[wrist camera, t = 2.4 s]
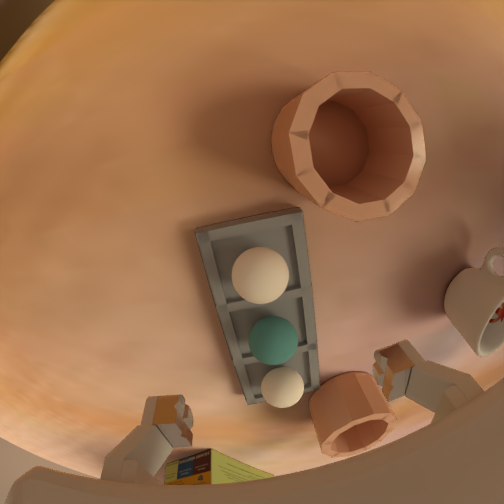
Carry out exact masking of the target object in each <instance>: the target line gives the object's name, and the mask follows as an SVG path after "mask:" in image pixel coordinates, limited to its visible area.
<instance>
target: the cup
mask: <svg viewBox="0 0 504 504" xmlns="http://www.w3.org/2000/svg"><path fill="white" fill-rule="evenodd" d="M497 256H503V257H504V249H503V248H493V249H491V250H490V251H489V252H488V254H487V255H486V257H485V260H484V262H483V265H482V267H481V268H480V269H477V268H467V269H465V270H463V271H461V272H460V273H459V274H458V275H457V276H456V277H455V278H454V279H453V280H452V282H451V283H450V285H449V287H448V289H447V291H446V294H445V299H444V309H445V312H446V314H447V316H448V318H449V319H450V321H451V322H452V323H453V325H454V326H455V327H456V328H457V330H458V331H459V332H460V333H461V335H462V336H463V337H464V339H465V340H466V341H467V343H468V344H469V345H470V347H471V348H472V349H473V351H474V352H475V353H476V354H477V355H478V356H480V357H486V356H489V355H491V354H492V353H494V352H495V351H496V350H498V349H499V348H500V347H501V346H502V345H503V344H504V276H499V275H498V274H496V273H495V271H494V269H493V261H494V259H495V258H496V257H497Z"/></svg>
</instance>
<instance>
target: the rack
mask: <svg viewBox="0 0 504 504" xmlns="http://www.w3.org/2000/svg"><path fill="white" fill-rule="evenodd" d="M195 235H196V239H197V242H198V246H199V250H200V253H201V257H202V261H203V264H204V268H205V271H206V275H207V279H208V282H209V285H210V289H211V292H212V296H213V299H214V303H215V306H216V309H217V313H218V316H219V319H220V322H221V326H222V329H223V332H224V335H225V338H226V342H227V345H228V348H229V351H230V354H231V357H232V360H233V363H234V366H235V369H236V372H237V375H238V378H239V381H240V384H241V387H242V390H243V393H244V396H245V399H246V402H247V404H248V405H250V404H256V403H261V402H267V401H266V400H265V399H264V397H263V395H262V392H261V384H262V381H263V379H264V377H265V376H266V374H267V373H268V372H270V371H271V370H273V369H275V368H279V367H287V368H291V369H293V370H295V371H296V372H297V373H298V374H299V375H300V376H301V377H302V380H303V383H304V391H303V394H304V393H308V392H312V391H316V390H319V389H320V376H319V361H318V346H317V335H316V323H315V312H314V302H313V291H312V283H311V274H310V265H309V257H308V249H307V241H306V234H305V226H304V219H303V212H302V209H301V208H300V207H296V208H291V209H286V210H281V211H276V212H271V213H266V214H261V215H256V216H251V217H246V218H241V219H237V220H232V221H227V222H223V223H218V224H213V225H209V226H204V227H200V228H196V230H195ZM254 247H266V248H270V249H272V250H274V251H276V252H277V253H279V254H280V255H281V256H282V257H283V259H284V260H285V262H286V264H287V267H288V271H289V280H288V284H287V287H286V289H285V291H284V292H283V293H282V294H281V296H279V297H278V298H277V299H276V300H274V301H272V302H269V303H265V304H255V303H251V302H249V301H247V300H245V299H243V298H242V297H241V296H240V295H239V294H238V293H237V291H236V290H235V288H234V286H233V282H232V268H233V265H234V263H235V261H236V259H237V258H238V257H239V256H240V255H241V254H242V253H243V252H245V251H246V250H248V249H251V248H254ZM270 316H277V317H281V318H284V319H286V320H288V321H289V322H290V323H291V324H292V325H293V326H294V328H295V329H296V332H297V335H298V346H297V349H296V351H295V353H294V355H293V356H292V357H291V358H290V359H289V360H287V361H286V362H284V363H282V364H278V365H268V364H264V363H262V362H260V361H259V360H257V359H256V358H255V357H254V356H253V354H252V353H251V351H250V348H249V344H248V338H249V334H250V331H251V329H252V327H253V326H254V325H255V324H256V323H257V322H258V321H259V320H261V319H263V318H266V317H270Z"/></svg>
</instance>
